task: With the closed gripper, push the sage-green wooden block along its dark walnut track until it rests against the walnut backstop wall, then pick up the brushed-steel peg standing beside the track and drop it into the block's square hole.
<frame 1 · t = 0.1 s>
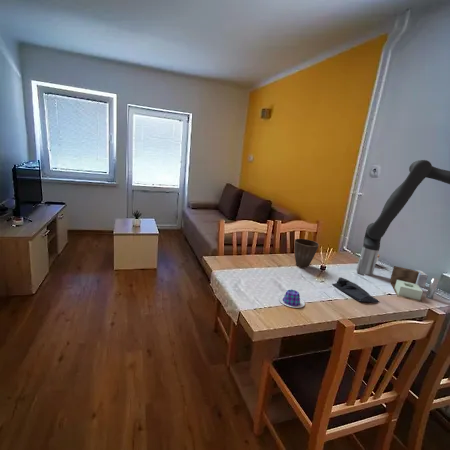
steel peg: (428, 299, 145), on the table
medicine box: (416, 285, 163), on the table
plant pot: (302, 265, 174), on the table
checked sun hat: (291, 302, 125), on the table
sliding block: (408, 289, 146), point 3 cm above the table, slide at 6.0 cm
lidded jar: (368, 263, 194), on the table
dark folded cloth: (354, 293, 143), on the table
track and wall: (404, 293, 150), on the table
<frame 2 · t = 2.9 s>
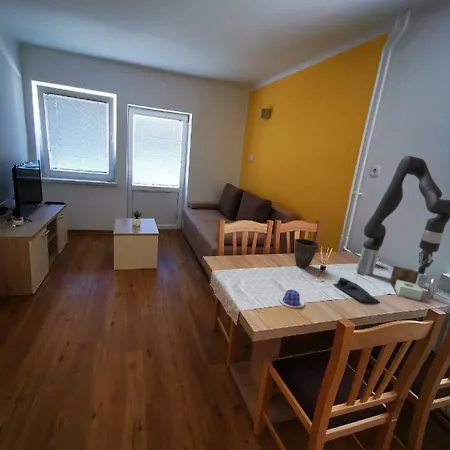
hand: (420, 273, 133), 17 cm above the table, tool pointing down, fingers closed
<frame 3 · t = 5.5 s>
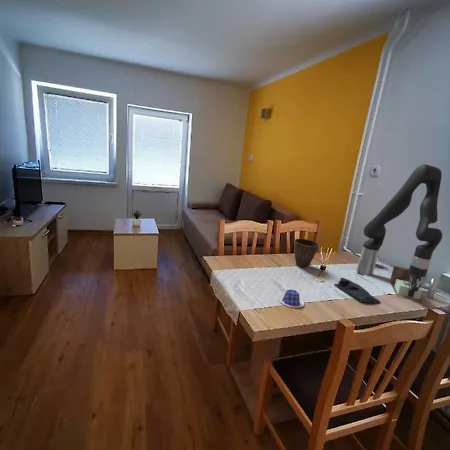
hand: (410, 296, 140), 2 cm above the table, tool pointing down, fingers closed
sliding block: (407, 288, 147), point 3 cm above the table, slide at 5.0 cm, touching gripper
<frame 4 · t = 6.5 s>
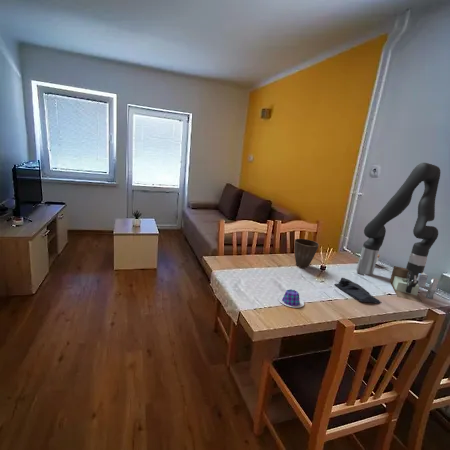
hand: (407, 292, 145), 2 cm above the table, tool pointing down, fingers closed
sliding block: (405, 285, 152), point 4 cm above the table, slide at 0.0 cm, touching gripper
everything else where it was.
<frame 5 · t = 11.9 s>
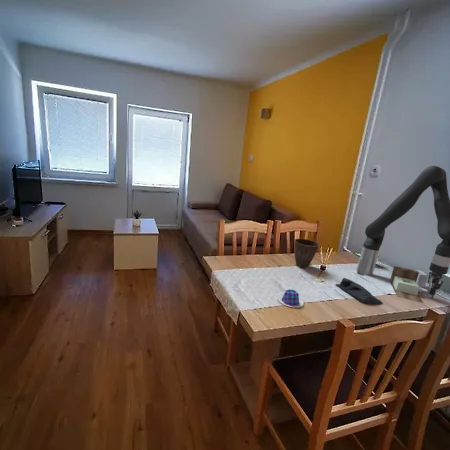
hand: (430, 293, 144), 4 cm above the table, tool pointing down, fingers closed on steel peg, 3 cm apart
steel peg: (428, 299, 145), on the table, touching gripper
sliding block: (405, 285, 152), point 3 cm above the table, slide at 0.0 cm
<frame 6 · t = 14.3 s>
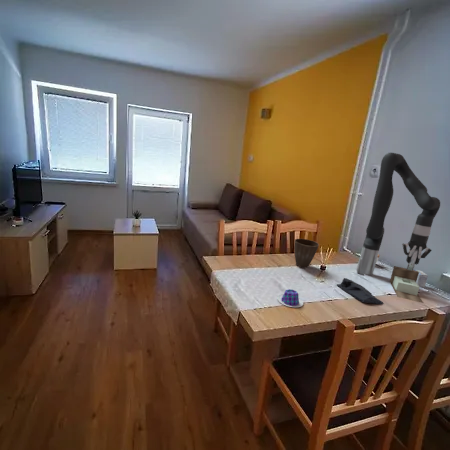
hand: (411, 263, 148), 17 cm above the table, tool pointing down, fingers closed on steel peg, 3 cm apart
steel peg: (410, 269, 149), point 13 cm above the table, touching gripper
when the fingers open (8 cm above the table, at t = 16.7 s): steel peg drops 3 cm, resting on track and wall.
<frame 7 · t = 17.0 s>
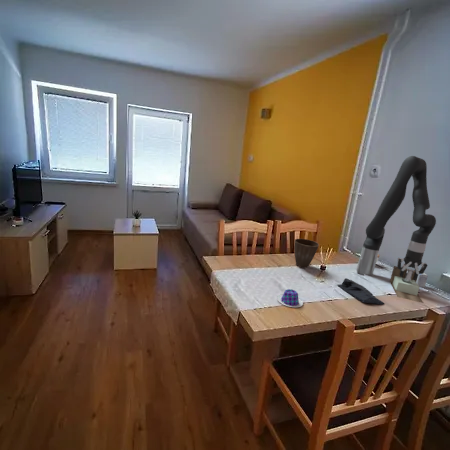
hand: (407, 278, 150), 8 cm above the table, tool pointing down, fingers open, 5 cm apart
steel peg: (404, 289, 152), point 1 cm above the table, touching track and wall
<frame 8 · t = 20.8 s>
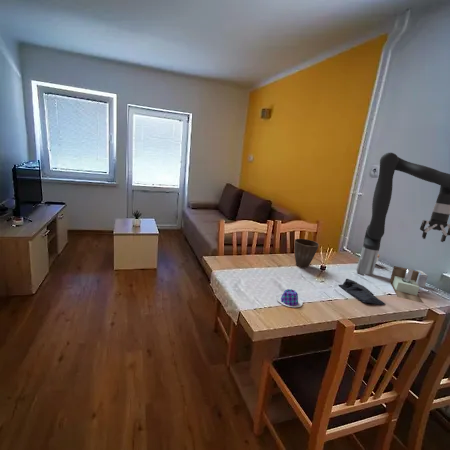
hand: (432, 240, 151), 30 cm above the table, tool pointing down, fingers open, 8 cm apart
at the end: sliding block slide at 0.0 cm; steel peg 0.1 cm off-centre on the sliding block, point 0.0 cm above the sliding block's base; steel peg tilted 1° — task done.
